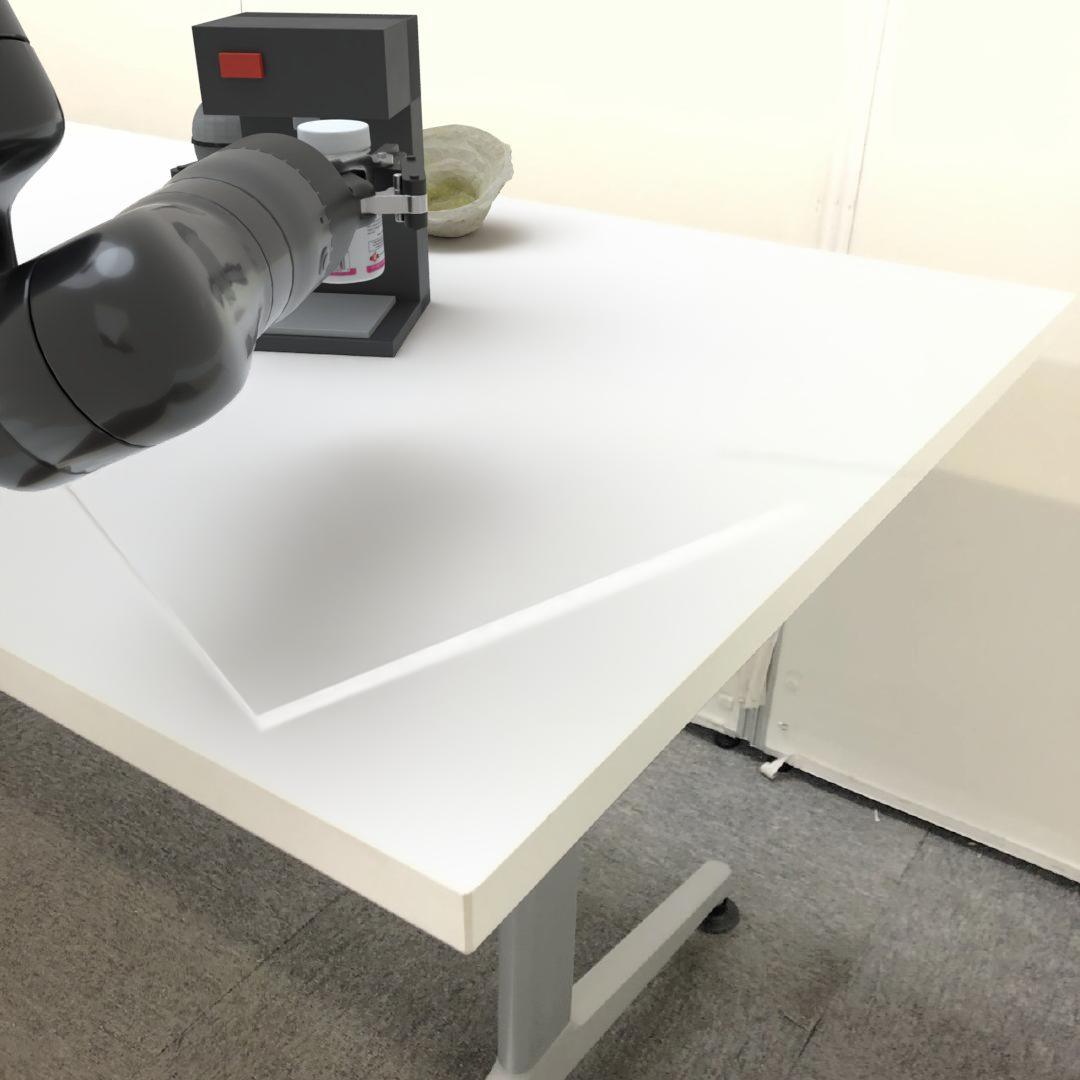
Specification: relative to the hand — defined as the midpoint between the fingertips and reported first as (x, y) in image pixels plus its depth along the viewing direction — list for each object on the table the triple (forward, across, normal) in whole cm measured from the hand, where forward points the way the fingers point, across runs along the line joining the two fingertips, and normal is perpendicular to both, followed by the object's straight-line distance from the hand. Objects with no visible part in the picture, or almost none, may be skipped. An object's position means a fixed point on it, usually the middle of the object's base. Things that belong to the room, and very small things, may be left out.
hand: (348, 160), depth 66 cm
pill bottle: (-3, 0, +6) cm, 7 cm away
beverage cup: (+37, +22, +18) cm, 46 cm away
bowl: (+50, +5, +18) cm, 53 cm away
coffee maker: (+21, +9, +18) cm, 29 cm away
